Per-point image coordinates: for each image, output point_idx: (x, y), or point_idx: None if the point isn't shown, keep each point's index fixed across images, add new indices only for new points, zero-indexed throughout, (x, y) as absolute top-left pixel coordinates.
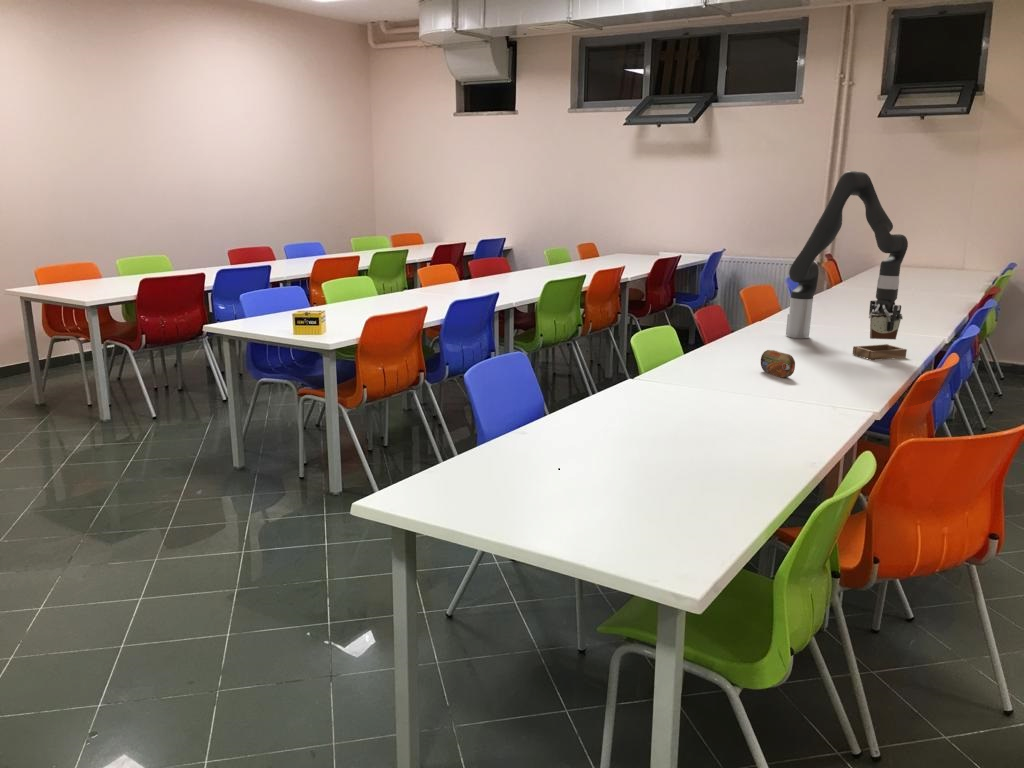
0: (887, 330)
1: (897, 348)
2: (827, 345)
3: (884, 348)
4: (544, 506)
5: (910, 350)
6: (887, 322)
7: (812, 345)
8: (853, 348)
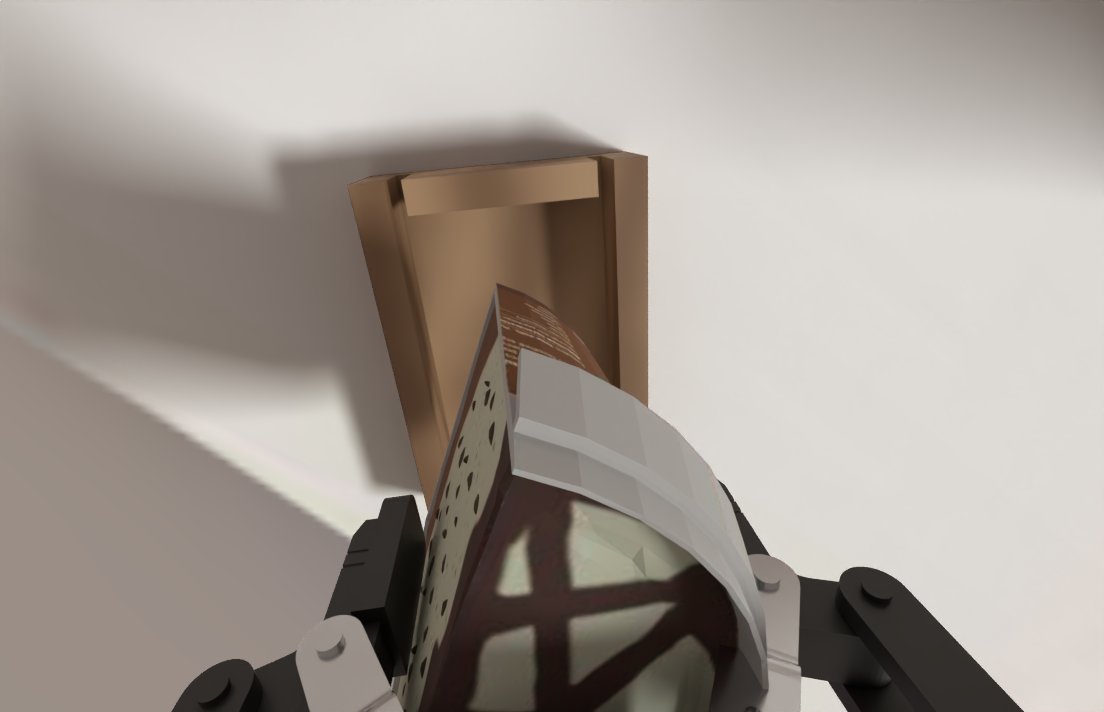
0: (391, 497)
1: None
2: (1012, 173)
3: None
4: None
5: None
6: (430, 603)
7: (1099, 7)
8: (638, 156)
